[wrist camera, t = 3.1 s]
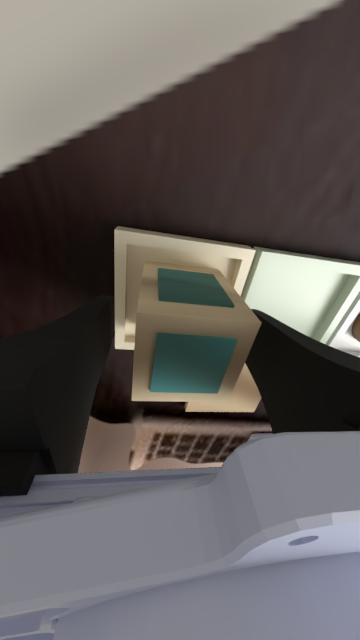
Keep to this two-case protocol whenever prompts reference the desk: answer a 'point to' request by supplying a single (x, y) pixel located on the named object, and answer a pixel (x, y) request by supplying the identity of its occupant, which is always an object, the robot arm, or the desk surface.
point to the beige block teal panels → (189, 335)
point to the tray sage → (302, 289)
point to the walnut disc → (356, 328)
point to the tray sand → (172, 250)
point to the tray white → (347, 331)
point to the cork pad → (233, 397)
